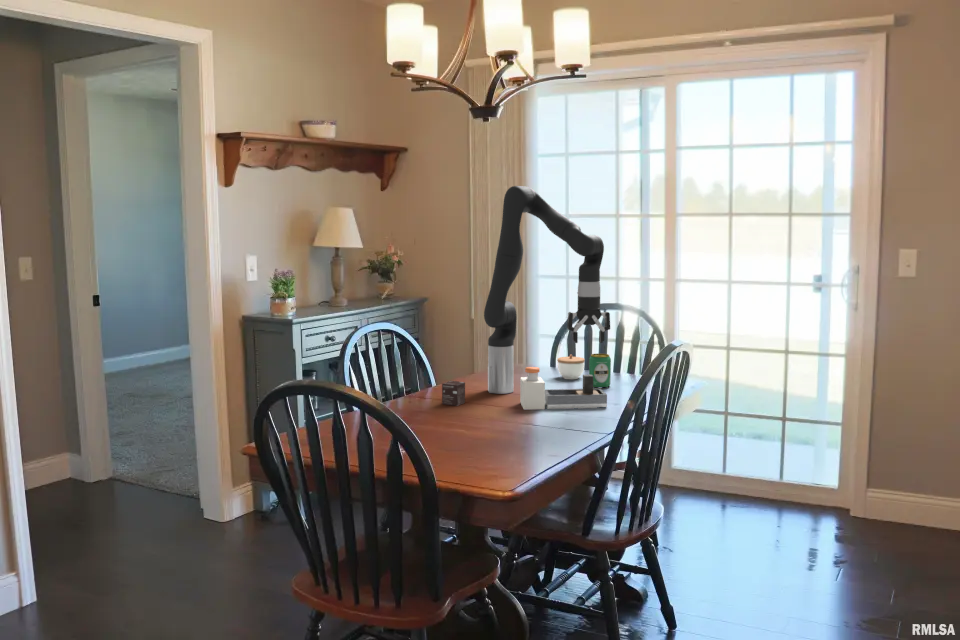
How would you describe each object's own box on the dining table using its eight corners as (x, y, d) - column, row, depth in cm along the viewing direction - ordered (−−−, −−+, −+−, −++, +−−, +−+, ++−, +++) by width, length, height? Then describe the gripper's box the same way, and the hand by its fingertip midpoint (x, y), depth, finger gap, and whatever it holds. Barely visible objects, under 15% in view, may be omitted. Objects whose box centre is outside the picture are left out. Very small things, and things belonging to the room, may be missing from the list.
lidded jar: (554, 375, 332) (554, 353, 331) (579, 374, 334) (580, 352, 332) (561, 381, 321) (561, 357, 320) (587, 380, 323) (588, 356, 322)
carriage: (579, 402, 277) (579, 377, 276) (575, 397, 284) (575, 373, 283) (600, 401, 277) (600, 377, 276) (595, 397, 284) (596, 373, 283)
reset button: (526, 383, 276) (526, 369, 275) (524, 380, 281) (524, 367, 280) (540, 383, 276) (540, 369, 276) (538, 380, 281) (538, 366, 280)
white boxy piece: (523, 409, 274) (523, 383, 273) (520, 402, 284) (520, 377, 283) (544, 409, 275) (544, 382, 274) (540, 402, 285) (540, 376, 284)
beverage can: (590, 388, 307) (591, 356, 306) (587, 384, 315) (587, 353, 313) (612, 388, 307) (612, 356, 306) (608, 384, 315) (608, 353, 314)
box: (441, 404, 283) (441, 383, 282) (450, 401, 288) (450, 380, 287) (457, 406, 280) (456, 385, 279) (465, 402, 285) (465, 381, 284)
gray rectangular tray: (547, 409, 275) (547, 395, 274) (543, 402, 285) (543, 389, 284) (606, 407, 276) (607, 394, 276) (600, 401, 286) (600, 388, 286)
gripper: (569, 296, 272) (569, 344, 274) (612, 295, 273) (611, 344, 275) (566, 294, 279) (565, 341, 281) (607, 293, 280) (606, 340, 282)
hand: (588, 342), depth 278 cm, fingers open, 8 cm apart
